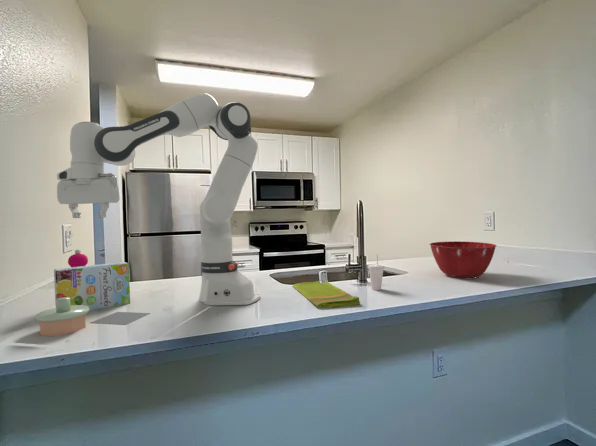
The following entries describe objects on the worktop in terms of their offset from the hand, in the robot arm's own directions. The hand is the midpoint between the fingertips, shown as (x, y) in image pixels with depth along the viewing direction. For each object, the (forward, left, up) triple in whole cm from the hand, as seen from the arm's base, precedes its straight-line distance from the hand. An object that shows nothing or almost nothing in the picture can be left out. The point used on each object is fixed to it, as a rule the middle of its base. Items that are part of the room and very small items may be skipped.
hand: (89, 217), depth 105 cm
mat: (-13, +3, -31) cm, 34 cm away
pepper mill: (+15, -10, -31) cm, 36 cm away
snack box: (+5, -6, -31) cm, 32 cm away
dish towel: (-70, -36, -32) cm, 84 cm away
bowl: (-4, +14, -31) cm, 34 cm away
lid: (-4, +14, -27) cm, 30 cm away
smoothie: (-90, -47, -31) cm, 106 cm away
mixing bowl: (-131, -80, -31) cm, 157 cm away
